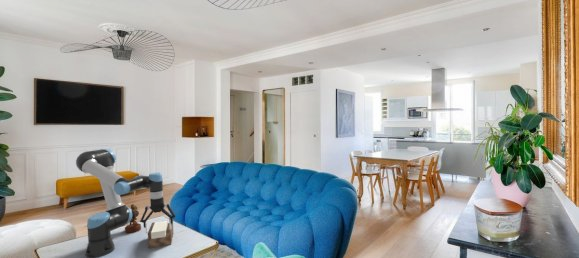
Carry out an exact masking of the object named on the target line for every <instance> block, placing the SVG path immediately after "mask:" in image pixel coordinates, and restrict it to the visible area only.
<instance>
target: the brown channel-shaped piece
mask: <svg viewBox="0 0 579 258" xmlns="http://www.w3.org/2000/svg"><path fill="white" fill-rule="evenodd" d="M155 222H156V221H155ZM155 222H151V224H150V227H149V228H148V233H147V243H148V249H152V248H157V247H158V248H159V247H165V246H171V245H172V243H173V239H172V238H173V237H174V222H173V223H172V224H171V229H170V226H169V222H168V228H167V232H166V236H165V237H161V238H154V239H151V231H152V229H153V226H154V223H155Z"/></svg>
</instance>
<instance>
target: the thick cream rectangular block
mask: <svg viewBox="0 0 579 258" xmlns="http://www.w3.org/2000/svg"><path fill="white" fill-rule="evenodd" d="M153 223H154V222H153ZM168 223H169V220H163V221H162V220H161V221H155V223H154V226H153V229H152V231H151V239H154V238H161V237H165V236H166V232H167V228H168Z"/></svg>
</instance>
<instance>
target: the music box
mask: <svg viewBox="0 0 579 258" xmlns="http://www.w3.org/2000/svg"><path fill="white" fill-rule="evenodd" d="M130 209H131V211H132V219H131V221H130V222H129V223H128V224H126V225H125V226H124V233H126V234H134V233H138V232H140V231H141V230H142V225H141V223H140V222H137V220H138V218H137V217H139V215H140V211H139V209H138V206H136V205H135V204H134V203H132V204H130Z"/></svg>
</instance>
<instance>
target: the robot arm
mask: <svg viewBox="0 0 579 258" xmlns="http://www.w3.org/2000/svg"><path fill="white" fill-rule="evenodd" d="M116 160H117V157H116V154H115V153H114V152H113V150H111V149H107V148H104V149H103V148H101V149H94V150H87V151H83V152H82V153H80V154H79V155H78V156H77V158H76V160H75V165H76V168H77V169H78V170H79V171H81V172H83V173H84V174H89V175H91V176H93V177H95V178H97V179H98V181H99V183H100V186H101V191H102V194H103V196H104V200H105V204H106V209H105V211H102V212H98V213H95V214H93V215H91V216H90V217H89V218H87V222H86V223H87V225H86V228H87V241H88V242H87V245H86V249H85V253H84V254H85V257H86V256H87V258H99V257H103V256H106V255H108V254H110V253H112V252H114V250H115V249H116V248H115V243H114V241H113V238H112V235H111V231H113V230H117V229H119V228H121V227H125V226H127V225H129V224H130V221H131V219H132V209H131V208H130V207H129V206H127V205H126V204H125V203H123V201H122V198H121V196H122V195H126V194H129V193H132V192H135V191H137V190H141V189H149V198H150V206H148V205H145V209H144V212H143V214H142V216H141V218H140V220H139V223H143V228H144V229H145V234H148V231H149V225H148V224H149V223H148V220H149V218H150V217H151V216H152V215H153V213H154V214H156V213H161V212H162V213H163V214H164V215H165V216H167V217H168V218H169V219H168V223H169V226H170V229H171V224H172V223H173V224H174V219H175V218H176V214H175V212H174V211H173V209H172V207H171V205H170V203H166V204H165V202H164V199H165V198H164V187H163V183H164V182H163V174H162V173H161V172H153V173H149V175H136V176H135V177H134V178H130V179H127V178H125V177H124V176H122V175H120V174H118V173H117V172H114V171H113V169H114V168H115V165H114V164H116ZM165 208H167V210H168V211H169V212H168V211H167V210H166V209H165ZM149 210H150V212H149V213H148V214H147V212H148V211H149ZM146 214H147V216H146ZM145 216H146V217H145Z"/></svg>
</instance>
